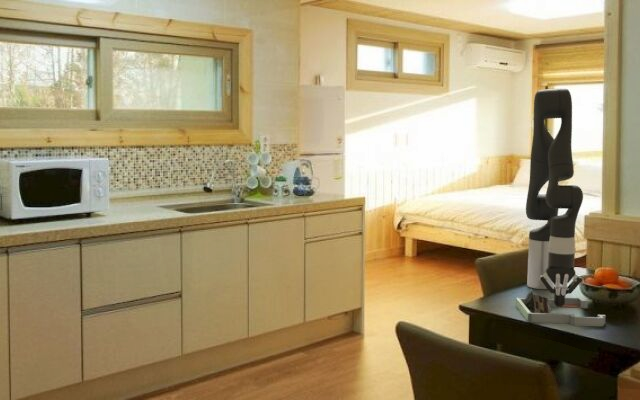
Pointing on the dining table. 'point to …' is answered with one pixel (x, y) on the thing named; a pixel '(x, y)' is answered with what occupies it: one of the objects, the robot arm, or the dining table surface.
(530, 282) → the robot arm
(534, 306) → the marbled cake slice
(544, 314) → the track
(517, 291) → the dining table surface
